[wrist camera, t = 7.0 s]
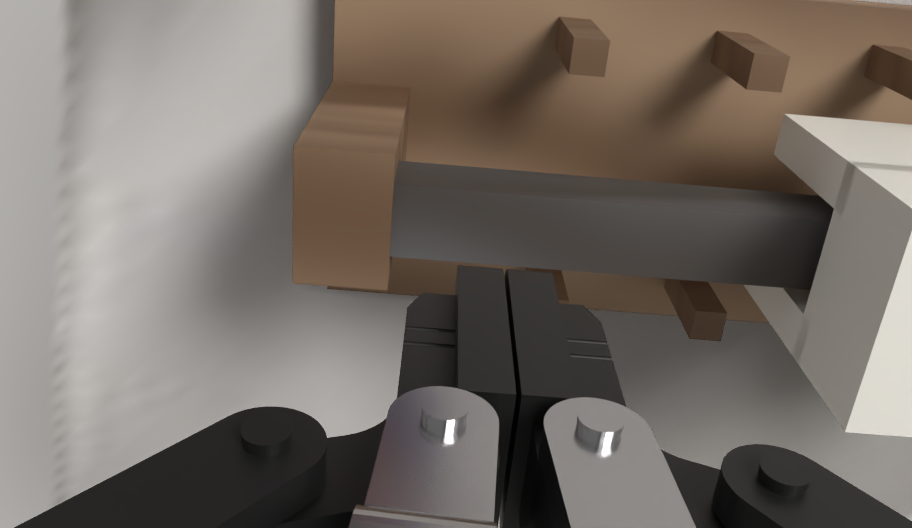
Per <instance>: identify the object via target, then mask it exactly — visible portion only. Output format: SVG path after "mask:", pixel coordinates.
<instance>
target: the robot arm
mask: <svg viewBox="0 0 912 528" xmlns="http://www.w3.org/2000/svg"><path fill="white" fill-rule="evenodd" d="M606 343H607V341H606V338H605V334H604V331H603V327H602V324H601V322H600V321H599V320H598V319H597V318H596V317H595V316H594V315H593V314H592V313H591V312H590V311H588V310H587V309H586V308H585V307H584V306H583V305H574V304H562V303H559V301H558V296H557V292H556V287H555V282H554V278H553V274H552V273H551V272H538V271H526V270H514V269H506V271H505V275H504V271H503V269H499V268H487V267H475V266H462V265H458V267H457V274H456V284H455V294H454V295H447V294H435V293H422V294H421V295H420V296H419V297H418V298H417V299H416V300H415V301H414V302H413V303H412V304H411V305H410V306H409V307H408V308H407V316H406V325H405V334H404V343H403V351H402V360H401V369H400V377H399V386H398V395H397V399H396V400H395V401H394V402H393V403H392V405H391V406H390V409H389V411H388V415H387V418H386V419H385V420H384V421H383V422H381V423H380V424H378V425H376V426H375V427H372V428H370V429H368V430H365V431H362V432H359V433H355V434H350V435H345V436H338V437H331V438H327V436H326V432H325V431H324V429H323V427H322V426H321V425H320V424H319V422H318V421H316V420H315V419H314V418H312V417H311V416H309V415H307V414H305V413H303V412H300V411H297V410H294V409H289V408H283V407H258V408H252V409H247V410H243V411H240V412H237V413H235V414H233V415H230V416H228V417H226V418H224V419H222V420H220V421H218V422H216V423H215V424H213V425H211V426H209V427H207V428H205V429H203V430H201V431H199V432H197V433H195V434H193V435H191V436H190V437H188V438H186V439H184V440H182V441H180V442H178V443H176V444H174V445H172V446H170V447H168V448H166V449H165V450H163V451H161V452H159V453H157V454H155V455H153V456H151V457H149V458H147V459H145V460H143V461H141V462H140V463H138V464H136V465H134V466H132V467H130V468H128V469H126V470H124V471H122V472H120V473H118V474H116V475H115V476H113V477H111V478H109V479H107V480H105V481H103V482H101V483H99V484H97V485H95V486H93V487H91V488H90V489H88V490H86V491H84V492H82V493H80V494H78V495H76V496H74V497H72V498H70V499H68V500H66V501H65V502H63V503H61V504H59V505H57V506H55V507H53V508H51V509H49V510H47V511H45V512H43V513H42V514H40V515H38V516H36V517H34V518H32V519H30V520H28V521H26V522H24V523H22V524H20V525H18V526H16V527H15V528H498V521H499V516H500V528H912V521H910V520H909V519H907V518H906V517H904V516H902V515H901V514H899V513H897V512H896V511H894V510H892V509H891V508H889V507H888V506H886V505H884V504H883V503H881V502H879V501H878V500H876V499H875V498H873V497H871V496H870V495H868V494H866V493H865V492H863V491H861V490H860V489H858V488H857V487H855V486H853V485H852V484H850V483H848V482H847V481H845V480H843V479H842V478H840V477H839V476H837V475H835V474H834V473H832V472H830V471H829V470H827V469H826V468H824V467H822V466H821V465H819V464H817V463H816V462H814V461H812V460H810V459H809V458H807V457H805V456H803V455H801V454H798V453H796V452H793V451H790V450H788V449H784V448H780V447H776V446H770V445H759V444H754V445H745V446H740V447H738V448H735V449H733V450H732V451H730V452H729V453H728V454H727V455H726V456H725V457H724V459H723V462H722V465H721V469H720V470H719V469H716V468H712V467H709V466H705V465H702V464H698V463H695V462H691V461H688V460H684V459H681V458H678V457H676V456H673V455H671V454H669V453H666V452H664V451H663V450H661V448H660V446H659V444H658V442H657V440H656V437H655V435H654V433H653V431H652V429H651V427H650V426H649V424H648V423H647V422H646V421H645V420H644V419H643V418H642V417H641V416H640V415H638V414H637V413H635V412H634V411H632V410H631V409H629V408H627V407H626V404H625V401H624V398H623V394H622V391H621V388H620V384H619V381H618V378H617V374H616V371H615V368H614V364H613V361H611V354H610V351H609V348H608V345H606Z"/></svg>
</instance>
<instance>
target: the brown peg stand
mask: <svg viewBox="0 0 912 528" xmlns="http://www.w3.org/2000/svg"><path fill="white" fill-rule="evenodd" d="M784 114H794V115H806V116H817V117H829V118H841V119H852V120H864V121H875V122H887V123H899V124H910V125H912V6H909V5H898V4H887V3H876V2H865V1H854V0H335V19H334V58H333V81H332V83H331V85H330V86H329V88H328V90H327V91H326V93H325V95H324V96H323V98H322V100H321V101H320V103H319V105H318V106H317V108H316V110H315V111H314V113H313V115H312V116H311V118H310V120H309V121H308V123H307V125H306V126H305V128H304V130H303V131H302V133H301V135H300V136H299V138H298V140H297V141H296V143H295V145H294V153H293V283H297V284H310V285H323V286H328V287H327V289H338V290H351V291H364V292H376V293H389V294H402V295H415V296H420V295H421V294H422V293H435V294H447V295H454V294H455V284H456V274H457V267H458V265H462V266H475V267H487V268H499V269H503V271H504V275H505V271H506V269H514V270H526V271H538V272H551V273H552V274H553V278H554V282H555V287H556V292H557V296H558V301H559V303H562V304H574V305H583V306H584V307H585V308H586V309H595V310H608V311H620V312H633V313H646V314H659V315H672V316H679V318H680V320H681V322H682V324H683V326H684V329H685V331H686V333H687V335H688V337H689V339H701V340H714V341H721V337H722V333H723V329H724V325H725V321H726V320H736V321H749V322H762V323H769V321H768V320H767V318H766V317H765V316H764V314H763V313H762V311H761V310H760V308H759V307H758V305H757V304H756V302H755V301H754V300H753V298H752V297H751V295H750V294H749V292H748V291H747V289H746V288H745V287H744V285H754V286H767V287H780V288H792V289H805V290H811V287H812V284H813V280H814V277H815V273H816V270H817V266H818V263H819V259H820V256H821V253H822V249H823V246H824V242H825V239H826V235H827V232H828V228H829V225H830V221H831V218H832V214H833V211H834V208H833V207H832V206H831V205H829V204H828V203H827V202H826V201H825V200H824V199H823V198H822V197H820V196H819V195H818V194H817V193H816V192H815V191H814V190H813V189H812V188H810V187H809V186H808V185H807V184H806V183H805V182H804V181H803V180H802V179H800V178H799V177H798V176H797V175H796V174H795V173H794V172H793V171H791V170H790V169H789V168H788V167H787V166H786V165H785V164H784V163H783V162H781V161H780V160H779V159H778V158H777V157H776V156H775V155H774V152H775V148H776V144H777V140H778V136H779V132H780V128H781V124H782V120H783V116H784Z"/></svg>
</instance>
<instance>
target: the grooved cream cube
mask: <svg viewBox="0 0 912 528" xmlns="http://www.w3.org/2000/svg"><path fill="white" fill-rule="evenodd" d="M774 155H775V156H776V157H777V158H778V159H779V160H780V161H781V162H783V163H784V164H785V165H786V166H787V167H788V168H789V169H790V170H791V171H793V172H794V173H795V174H796V175H797V176H798V177H799V178H800V179H802V180H803V181H804V182H805V183H806V184H807V185H808V186H809V187H810V188H812V189H813V190H814V191H815V192H816V193H817V194H818V195H819V196H820V197H822V198H823V199H824V200H825V201H826V202H827V203H828V204H829V205H831V206H832V207H833V208H834V211H833V214H832V218H831V221H830V225H829V228H828V232H827V235H826V239H825V242H824V246H823V249H822V253H821V256H820V259H819V263H818V266H817V270H816V273H815V277H814V280H813V284H812V287H811V290H805V289H792V288H780V287H767V286H754V285H744V287H745V288H746V289H747V291H748V292H749V294H750V295H751V297H752V298H753V300H754V301H755V302H756V304H757V305H758V307H759V308H760V310H761V311H762V313H763V314H764V316H765V317H766V318H767V320H768V321H769V323H770V324H771V326H772V327H773V329H774V330H775V331H776V333H777V334H778V336H779V337H780V339H781V340H782V342H783V343H784V344H785V346H786V347H787V349H788V350H789V352H790V353H791V355H792V356H793V358H794V359H795V360H796V362H797V363H798V365H799V366H800V368H801V369H802V371H803V372H804V373H805V375H806V376H807V378H808V379H809V381H810V382H811V384H812V385H813V387H814V388H815V389H816V391H817V392H818V394H819V395H820V397H821V398H822V400H823V401H824V402H825V404H826V405H827V407H828V408H829V410H830V411H831V413H832V414H833V415H834V417H835V418H836V420H837V421H838V423H839V424H840V426H841V427H842V429H843V430H844V431H845V432H850V433H863V434H877V435H891V436H904V437H912V125H910V124H899V123H887V122H875V121H864V120H852V119H841V118H829V117H817V116H806V115H794V114H784V116H783V120H782V124H781V128H780V132H779V136H778V140H777V144H776V148H775V152H774Z"/></svg>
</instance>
